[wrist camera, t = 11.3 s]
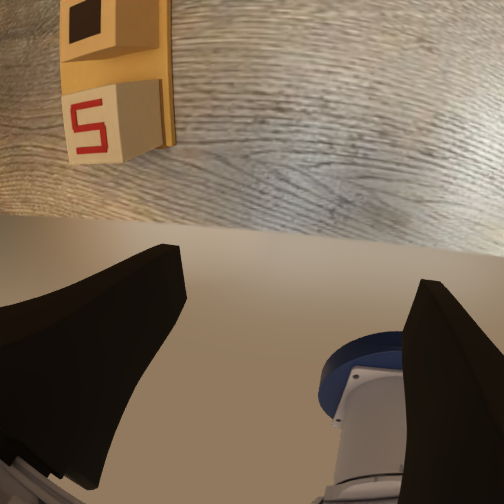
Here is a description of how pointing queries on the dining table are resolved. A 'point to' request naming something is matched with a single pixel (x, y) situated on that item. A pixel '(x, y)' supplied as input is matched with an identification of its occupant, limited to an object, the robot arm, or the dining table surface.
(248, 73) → the dining table surface
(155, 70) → the yellow wooden block holder
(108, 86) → the letter s
